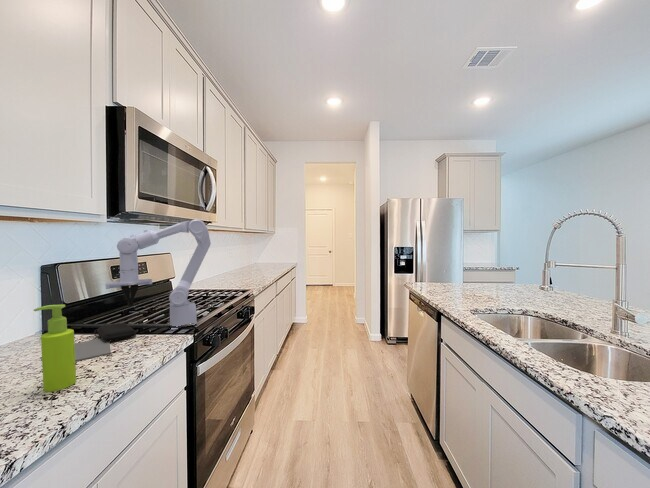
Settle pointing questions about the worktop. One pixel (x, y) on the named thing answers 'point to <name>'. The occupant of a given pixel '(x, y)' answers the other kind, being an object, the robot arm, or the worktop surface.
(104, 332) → the black upright slab
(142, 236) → the robot arm
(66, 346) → the soap dispenser
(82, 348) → the mat
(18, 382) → the worktop surface
